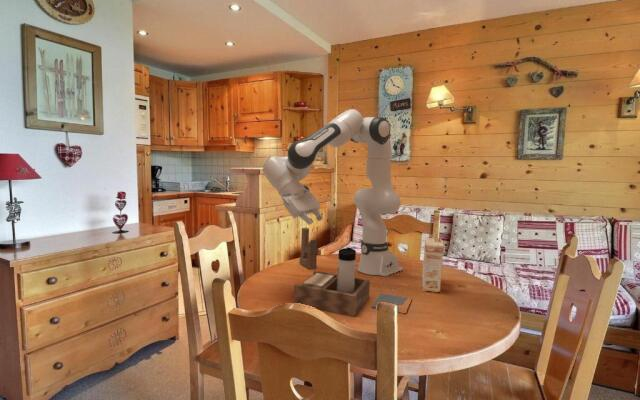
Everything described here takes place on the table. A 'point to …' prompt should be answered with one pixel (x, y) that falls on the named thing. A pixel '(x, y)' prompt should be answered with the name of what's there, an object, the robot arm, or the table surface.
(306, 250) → the brown wooden handled piece
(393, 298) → the rubber mat
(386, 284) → the table surface
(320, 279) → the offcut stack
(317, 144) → the robot arm
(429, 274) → the coffeecake box
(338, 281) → the travel mug
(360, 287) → the walnut rack
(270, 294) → the table surface
